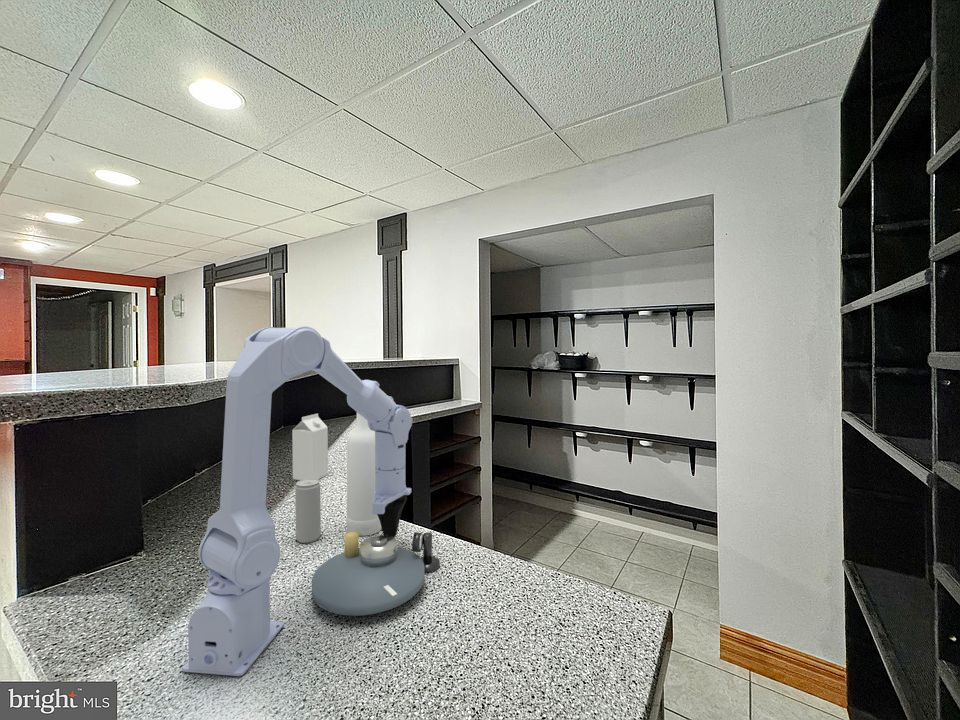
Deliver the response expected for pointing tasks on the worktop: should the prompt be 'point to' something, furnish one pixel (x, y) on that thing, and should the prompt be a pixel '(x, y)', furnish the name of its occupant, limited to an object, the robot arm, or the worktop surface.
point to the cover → (378, 551)
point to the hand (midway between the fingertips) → (390, 536)
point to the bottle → (361, 480)
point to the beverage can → (308, 510)
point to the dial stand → (425, 550)
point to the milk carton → (310, 448)
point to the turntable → (366, 581)
